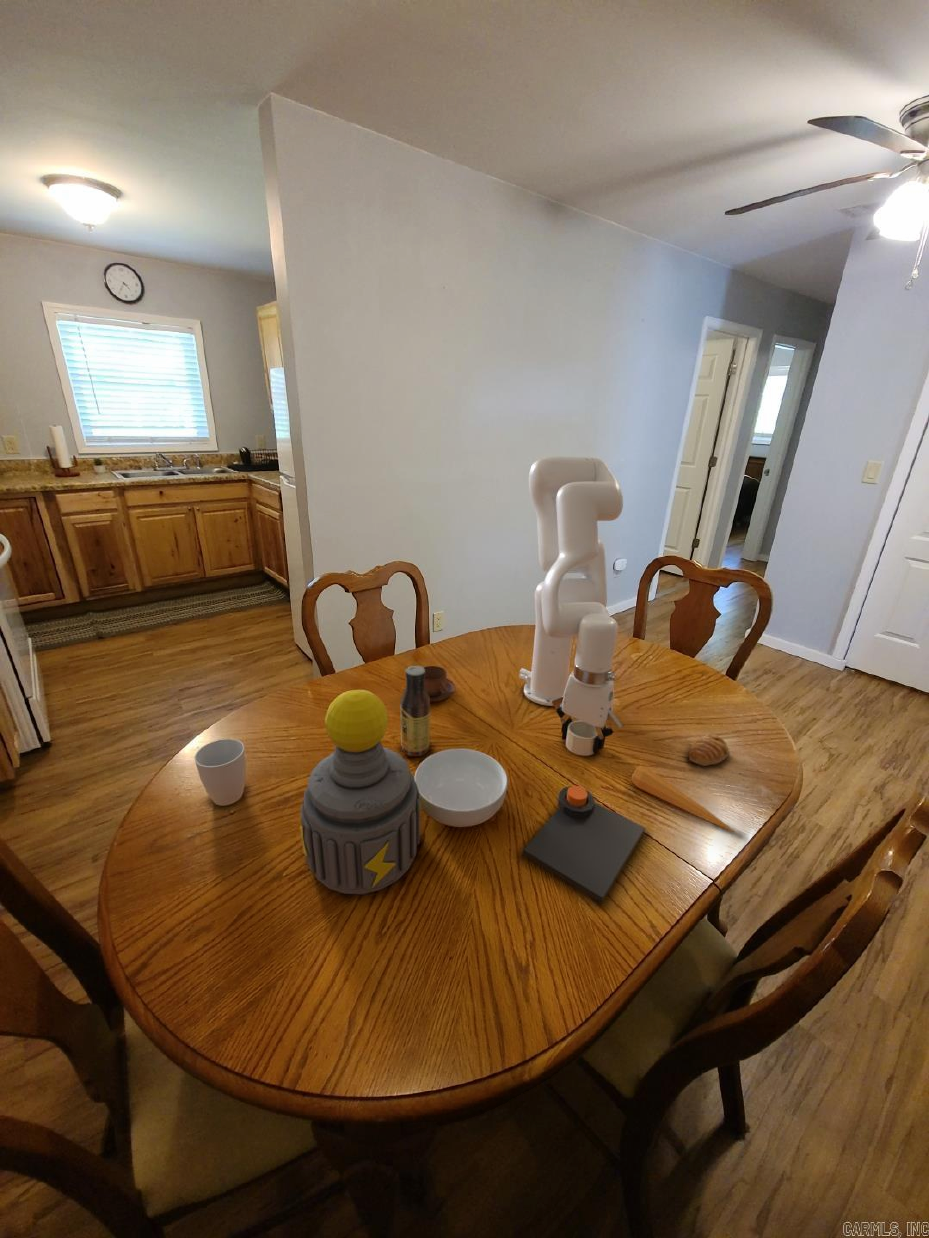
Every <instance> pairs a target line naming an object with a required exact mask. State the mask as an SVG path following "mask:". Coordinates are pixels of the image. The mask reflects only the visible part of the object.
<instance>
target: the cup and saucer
mask: <svg viewBox="0 0 929 1238" xmlns="http://www.w3.org/2000/svg"><path fill="white" fill-rule="evenodd" d="M423 668H424V669H425V673H426V674H425V675H426V676H425V679H424V682H425V684H424V685H425V690H426V691H427V693H428V695H429V697H430V703H431V702H433V703H434V702H440V701H441V702H442V701H444V700H446V699H449V698H450V697H451V696H453V694H454V693H455V691H456V685H455V683H454V682H453V681H452V680H450V679H449V678H447V675H448V674H447V673H448V672H447V670H446V669H445V668H443V667H441V666H438V665H437V666H436V665H428V666H423Z"/></svg>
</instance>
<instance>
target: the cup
mask: <svg viewBox="0 0 929 1238" xmlns="http://www.w3.org/2000/svg"><path fill="white" fill-rule="evenodd" d="M193 759H194V762H195V765H196V766H195V767H196V769H197V772H198V776H199V778H200V781H201V783H202V785H203V787H204V789H205V791H206V793H207V795H208V796H209V798H210V799H211V801H212V802H213V803H214V804H215V805H217V806H221V807H223V806H229V805H232V804H234V803H236V802H238V801H239V800H240V799H241V798H242V797H243V795H244V790H245V789H244V788H245V784H246V772H247V765H246V764H247V762H246V753H245V745H244V743H243V742H242V741H240V740H238V739H236V738H221V739H217V740H213V741H210V742H207V743H206V744H204V745H203V746H201V747H200V748H199V749H198V750H197V751H196V753H195V755H194V758H193Z"/></svg>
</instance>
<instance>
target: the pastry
mask: <svg viewBox="0 0 929 1238" xmlns="http://www.w3.org/2000/svg"><path fill="white" fill-rule="evenodd" d="M730 754H731V752H730V750H729V747H728V744H727V742H726V741H725V739H723V738H722V737H720V736H718V735H713V734H706V735H704V736H702V737H700V738H697V739H696V740H695V741H694V742H693V743H692V744H691V746H690V749H689V752H688V760H689V761H691V762H693V763H695V764H697V765H700V766H703V767H708V766H714V765H718V764H719V763H721V762H722V761H725V760H726V759H727V758H728V757H729V756H730Z"/></svg>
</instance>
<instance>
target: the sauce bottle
mask: <svg viewBox="0 0 929 1238" xmlns="http://www.w3.org/2000/svg"><path fill="white" fill-rule="evenodd" d="M404 672H405V673H404V674H405V675H404V676H405V679H406V681H405V684H406V685H405V689H404V691H403V694H402V697H401V699H400V704H399V705H400V706H399V707H400V709H399V711H400V713H399V714H400V745H401V750H402V753H404V754H405V755H406V756H408V757H414V758H415V757H421V756H424V755H426V754H427V753H428V751H429V749H430V744H431V704H430V703H431V702H430V697H429V695H428V693H427V691H426V690H425V685H424V684H425V682H424V679H425V676H426V675H425V674H426V673H425V669H424V666H421V665H411V666H408V667H407V668H406V669H405V671H404Z"/></svg>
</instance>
